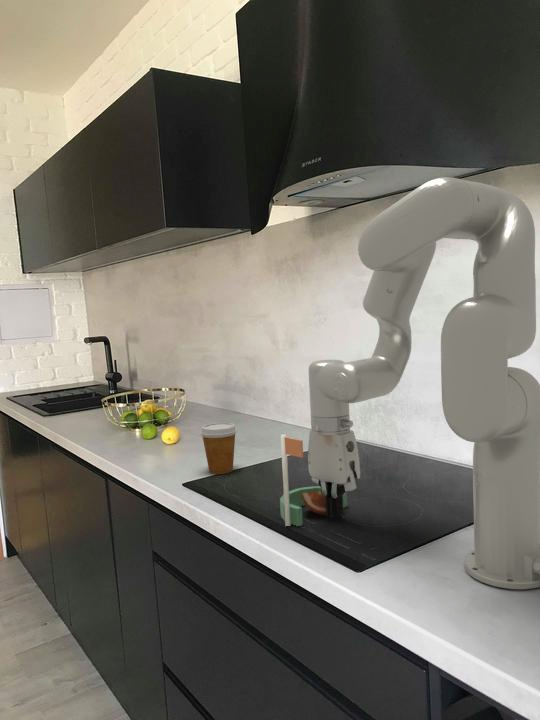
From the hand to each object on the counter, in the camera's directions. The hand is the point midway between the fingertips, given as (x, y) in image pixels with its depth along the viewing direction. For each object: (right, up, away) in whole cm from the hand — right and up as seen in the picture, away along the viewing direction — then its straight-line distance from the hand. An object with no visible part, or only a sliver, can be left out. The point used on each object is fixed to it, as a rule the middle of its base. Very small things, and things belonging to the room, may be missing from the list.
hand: (334, 514), depth 116 cm
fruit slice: (-2, -1, +5) cm, 5 cm away
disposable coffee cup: (-26, +1, +39) cm, 47 cm away
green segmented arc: (-4, -1, +4) cm, 6 cm away
